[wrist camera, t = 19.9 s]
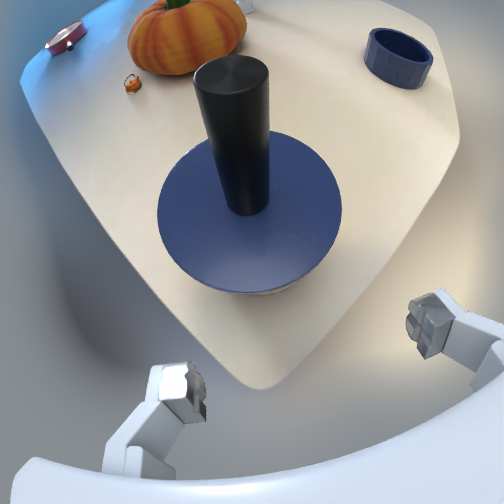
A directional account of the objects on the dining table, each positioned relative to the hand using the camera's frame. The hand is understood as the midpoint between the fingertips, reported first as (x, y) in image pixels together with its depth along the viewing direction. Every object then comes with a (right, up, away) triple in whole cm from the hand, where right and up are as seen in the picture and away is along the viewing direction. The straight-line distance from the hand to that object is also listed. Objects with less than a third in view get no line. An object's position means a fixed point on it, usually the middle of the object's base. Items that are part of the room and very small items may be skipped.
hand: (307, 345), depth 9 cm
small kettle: (-21, +29, +27) cm, 45 cm away
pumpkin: (-12, +37, +28) cm, 48 cm away
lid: (-2, +6, +8) cm, 10 cm away
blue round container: (+21, +33, +24) cm, 45 cm away
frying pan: (-50, +59, +37) cm, 86 cm away
